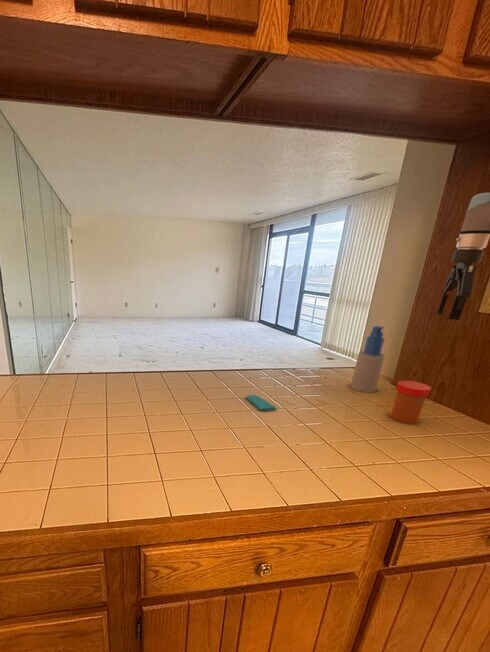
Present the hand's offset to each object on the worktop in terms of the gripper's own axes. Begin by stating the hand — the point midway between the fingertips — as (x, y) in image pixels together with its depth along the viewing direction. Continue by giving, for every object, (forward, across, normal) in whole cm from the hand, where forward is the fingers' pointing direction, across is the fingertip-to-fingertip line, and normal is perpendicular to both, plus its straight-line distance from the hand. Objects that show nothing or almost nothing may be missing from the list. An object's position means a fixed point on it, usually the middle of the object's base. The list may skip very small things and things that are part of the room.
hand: (447, 316), depth 119 cm
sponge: (+31, +32, -54) cm, 70 cm away
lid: (+19, +23, -9) cm, 32 cm away
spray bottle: (+31, -4, -19) cm, 36 cm away
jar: (+31, +23, -9) cm, 40 cm away
